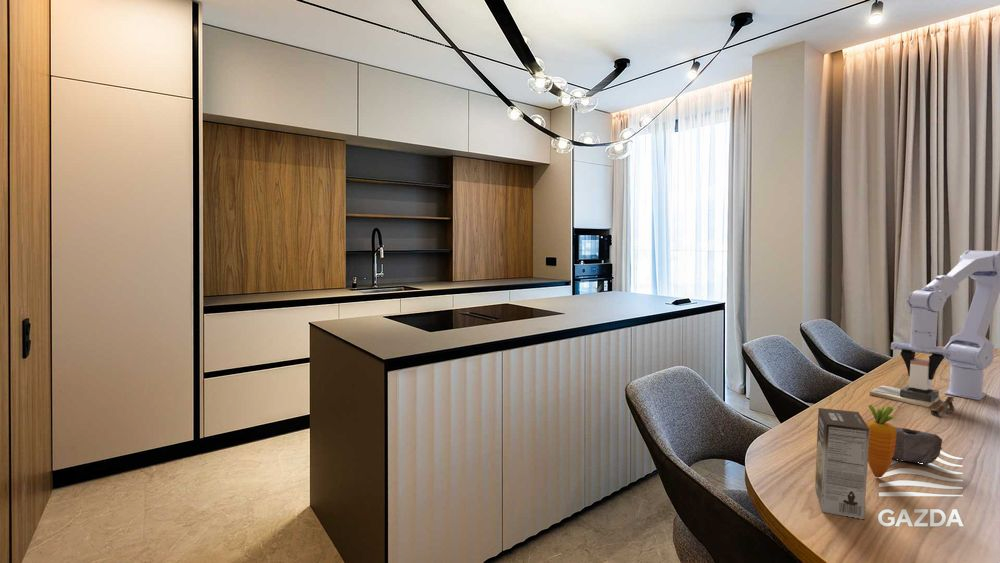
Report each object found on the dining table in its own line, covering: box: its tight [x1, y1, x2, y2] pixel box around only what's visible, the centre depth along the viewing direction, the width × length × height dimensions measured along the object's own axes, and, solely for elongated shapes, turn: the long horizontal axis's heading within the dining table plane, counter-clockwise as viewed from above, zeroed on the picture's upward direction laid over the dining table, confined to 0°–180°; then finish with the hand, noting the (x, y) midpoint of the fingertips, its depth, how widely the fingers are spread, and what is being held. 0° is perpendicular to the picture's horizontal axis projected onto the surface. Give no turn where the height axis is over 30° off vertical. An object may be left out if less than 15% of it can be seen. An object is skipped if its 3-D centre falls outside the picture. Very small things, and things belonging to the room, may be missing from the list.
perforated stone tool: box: [892, 426, 943, 466], centre depth 106 cm, size 15×5×7 cm, turn 45°
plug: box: [908, 357, 933, 390], centre depth 144 cm, size 5×4×8 cm
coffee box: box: [814, 407, 870, 520], centre depth 87 cm, size 9×6×16 cm
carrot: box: [865, 404, 897, 478], centre depth 97 cm, size 5×5×15 cm
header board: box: [869, 384, 941, 408], centre depth 147 cm, size 11×14×3 cm
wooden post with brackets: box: [929, 396, 955, 417], centre depth 133 cm, size 2×8×4 cm, turn 110°
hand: (920, 377), depth 144 cm, fingers closed on plug, 4 cm apart
